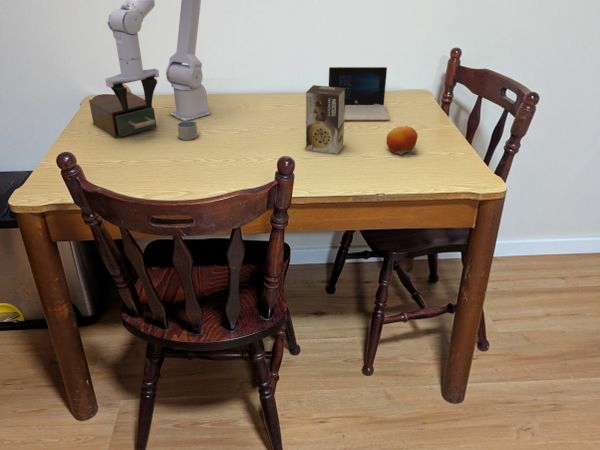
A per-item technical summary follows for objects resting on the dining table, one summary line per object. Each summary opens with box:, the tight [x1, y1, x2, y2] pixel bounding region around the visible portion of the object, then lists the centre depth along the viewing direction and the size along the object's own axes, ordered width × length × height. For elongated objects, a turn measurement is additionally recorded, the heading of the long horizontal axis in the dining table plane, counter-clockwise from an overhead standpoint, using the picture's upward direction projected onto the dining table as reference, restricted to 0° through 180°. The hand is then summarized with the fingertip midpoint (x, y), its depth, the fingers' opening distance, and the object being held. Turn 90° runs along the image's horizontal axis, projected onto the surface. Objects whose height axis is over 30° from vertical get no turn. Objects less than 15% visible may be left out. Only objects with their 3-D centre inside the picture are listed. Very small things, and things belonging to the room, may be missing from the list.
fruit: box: [386, 125, 418, 156], centre depth 148 cm, size 8×8×8 cm
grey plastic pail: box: [176, 120, 199, 141], centre depth 157 cm, size 5×5×4 cm
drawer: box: [114, 106, 157, 138], centre depth 160 cm, size 18×11×6 cm, turn 42°
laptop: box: [328, 66, 390, 122], centre depth 171 cm, size 18×12×13 cm
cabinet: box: [88, 91, 153, 139], centre depth 163 cm, size 14×12×7 cm
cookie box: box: [305, 84, 346, 155], centre depth 147 cm, size 9×6×16 cm
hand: (137, 107), depth 154 cm, fingers open, 6 cm apart
